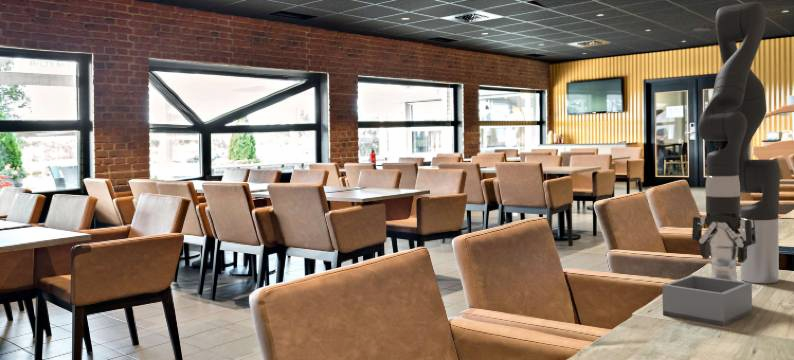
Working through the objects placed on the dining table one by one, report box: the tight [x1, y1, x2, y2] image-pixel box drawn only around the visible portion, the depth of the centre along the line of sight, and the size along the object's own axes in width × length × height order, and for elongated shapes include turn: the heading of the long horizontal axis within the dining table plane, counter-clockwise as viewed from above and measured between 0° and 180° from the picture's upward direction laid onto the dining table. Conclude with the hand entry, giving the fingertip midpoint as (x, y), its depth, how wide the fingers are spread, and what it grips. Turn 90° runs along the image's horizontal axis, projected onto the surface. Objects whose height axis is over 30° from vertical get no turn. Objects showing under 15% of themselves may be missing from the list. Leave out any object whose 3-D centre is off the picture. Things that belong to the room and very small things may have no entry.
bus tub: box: [661, 274, 753, 327], centre depth 154 cm, size 14×14×7 cm
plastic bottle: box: [708, 221, 739, 281], centre depth 164 cm, size 6×7×20 cm
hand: (723, 260), depth 164 cm, fingers open, 8 cm apart
